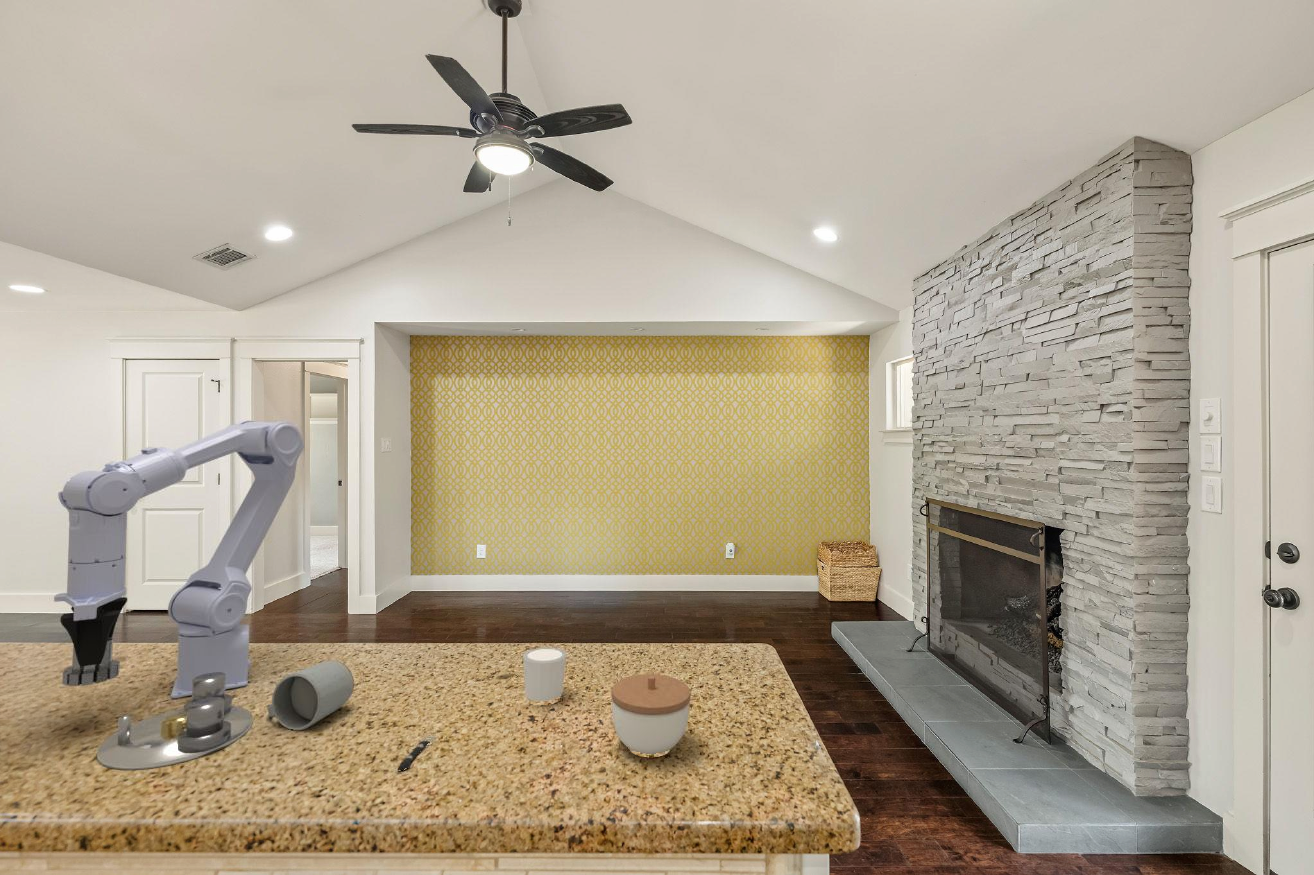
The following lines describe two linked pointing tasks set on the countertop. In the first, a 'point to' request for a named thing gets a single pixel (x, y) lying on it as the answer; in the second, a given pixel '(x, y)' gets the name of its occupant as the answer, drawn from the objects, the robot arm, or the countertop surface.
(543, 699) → the white short cylinder
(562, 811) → the countertop surface
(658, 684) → the lidded jar
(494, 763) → the countertop surface
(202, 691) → the carrier
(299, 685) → the ceramic mug
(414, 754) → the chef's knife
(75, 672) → the planet gear
